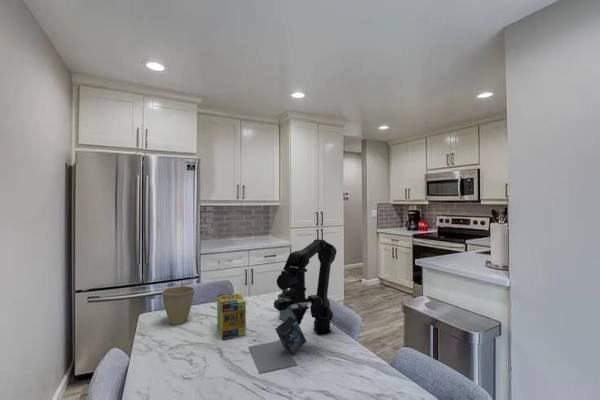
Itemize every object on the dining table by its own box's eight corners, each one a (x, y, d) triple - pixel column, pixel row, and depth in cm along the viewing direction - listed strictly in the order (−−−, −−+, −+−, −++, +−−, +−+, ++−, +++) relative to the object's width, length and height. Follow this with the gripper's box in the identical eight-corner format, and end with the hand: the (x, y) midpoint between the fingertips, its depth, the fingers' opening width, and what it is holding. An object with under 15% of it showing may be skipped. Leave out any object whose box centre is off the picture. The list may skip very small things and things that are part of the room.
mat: (281, 341, 123) (281, 340, 123) (297, 365, 105) (297, 364, 105) (248, 347, 118) (248, 346, 118) (259, 373, 99) (259, 373, 99)
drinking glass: (301, 317, 149) (301, 294, 149) (290, 324, 140) (290, 299, 141) (285, 313, 154) (285, 291, 155) (273, 320, 146) (273, 296, 146)
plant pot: (197, 323, 143) (197, 291, 143) (165, 331, 134) (165, 296, 135) (190, 314, 155) (190, 284, 155) (159, 320, 147) (159, 289, 147)
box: (292, 355, 111) (281, 333, 108) (284, 349, 115) (274, 328, 113) (307, 341, 115) (297, 320, 112) (299, 336, 119) (289, 315, 117)
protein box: (222, 340, 124) (222, 304, 124) (217, 327, 138) (216, 294, 138) (246, 336, 128) (246, 301, 129) (238, 323, 142) (238, 291, 143)
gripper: (310, 278, 127) (311, 315, 126) (269, 282, 120) (270, 321, 119) (322, 283, 116) (323, 323, 115) (277, 288, 109) (278, 330, 108)
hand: (298, 324), depth 115 cm, fingers closed
